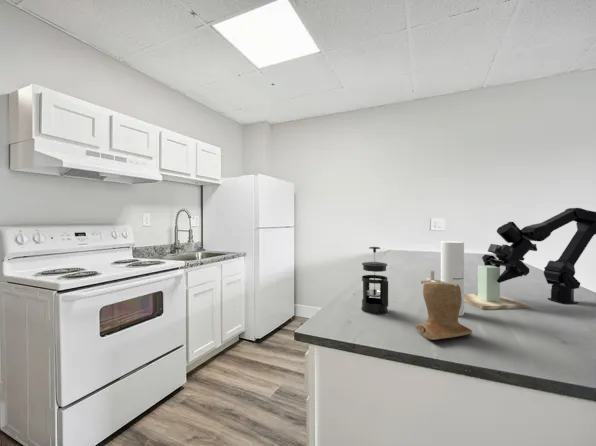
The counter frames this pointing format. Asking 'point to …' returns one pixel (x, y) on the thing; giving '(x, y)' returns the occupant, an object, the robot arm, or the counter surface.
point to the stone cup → (442, 311)
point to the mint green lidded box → (488, 283)
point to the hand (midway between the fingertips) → (489, 279)
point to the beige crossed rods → (430, 278)
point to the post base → (493, 302)
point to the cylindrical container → (453, 266)
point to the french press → (374, 303)
